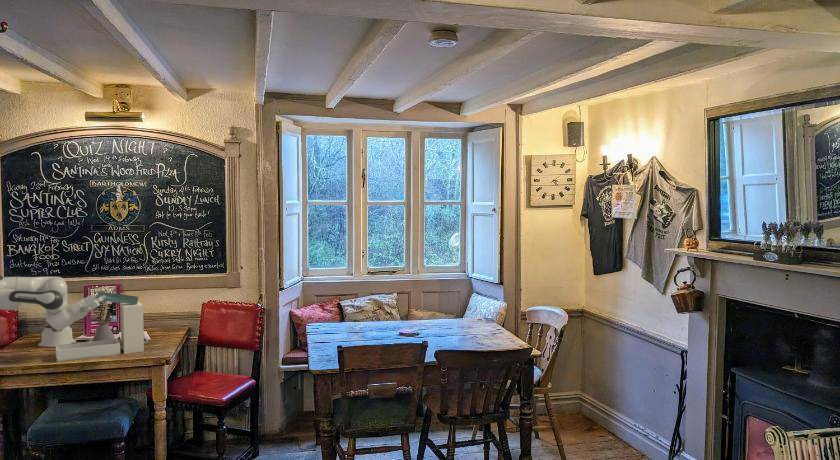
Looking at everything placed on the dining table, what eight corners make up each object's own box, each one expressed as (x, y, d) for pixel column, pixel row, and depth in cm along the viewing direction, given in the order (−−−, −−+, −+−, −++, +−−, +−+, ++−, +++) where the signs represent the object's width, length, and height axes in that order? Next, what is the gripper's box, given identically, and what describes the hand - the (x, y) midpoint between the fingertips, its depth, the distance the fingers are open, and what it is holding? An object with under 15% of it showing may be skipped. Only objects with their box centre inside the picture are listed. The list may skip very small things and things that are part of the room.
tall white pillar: (121, 348, 348) (120, 303, 346) (140, 346, 353) (139, 302, 351) (124, 353, 338) (123, 307, 336) (143, 351, 343) (143, 305, 341)
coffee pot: (111, 344, 357) (111, 319, 356) (90, 345, 354) (89, 320, 353) (121, 336, 377) (121, 312, 377) (101, 336, 375) (100, 312, 374)
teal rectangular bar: (96, 298, 336) (98, 291, 336) (135, 303, 347) (137, 296, 347) (97, 300, 332) (99, 292, 333) (136, 304, 343) (138, 297, 344)
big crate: (55, 356, 331) (55, 345, 330) (117, 349, 347) (117, 338, 347) (57, 362, 320) (56, 350, 319) (120, 354, 336) (120, 343, 336)
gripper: (78, 308, 320) (103, 293, 326) (74, 301, 337) (98, 287, 343) (85, 317, 322) (110, 302, 329) (81, 311, 339) (105, 296, 346)
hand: (104, 294), depth 336 cm, fingers closed on teal rectangular bar, 4 cm apart
